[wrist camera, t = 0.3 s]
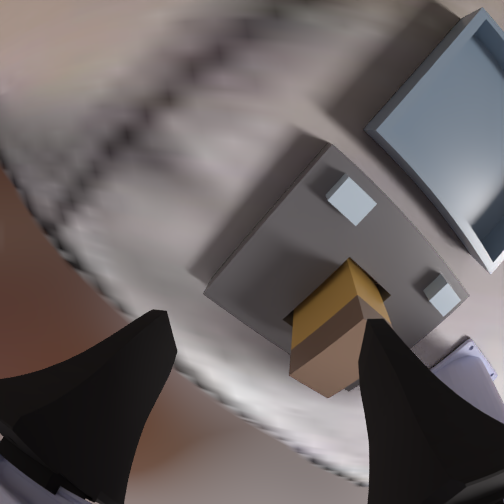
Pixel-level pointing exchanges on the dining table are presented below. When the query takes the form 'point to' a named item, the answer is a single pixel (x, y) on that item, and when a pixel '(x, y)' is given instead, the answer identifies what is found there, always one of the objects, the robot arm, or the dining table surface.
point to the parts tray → (455, 133)
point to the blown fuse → (334, 329)
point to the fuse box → (334, 256)
